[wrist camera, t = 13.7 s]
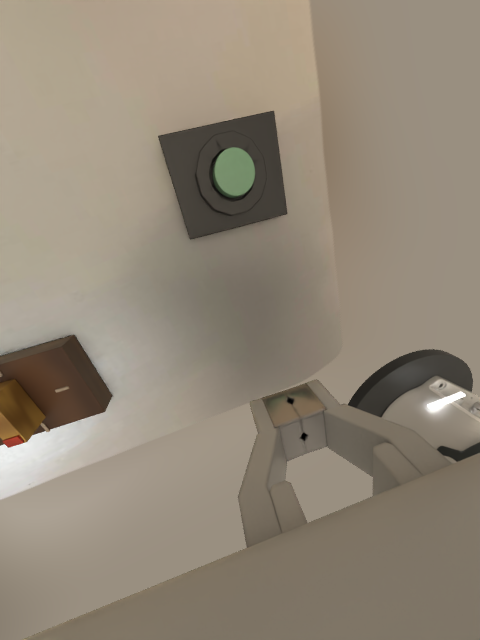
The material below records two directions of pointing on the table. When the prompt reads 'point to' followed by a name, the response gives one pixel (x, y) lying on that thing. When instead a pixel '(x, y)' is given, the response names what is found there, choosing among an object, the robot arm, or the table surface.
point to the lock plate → (57, 381)
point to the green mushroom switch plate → (197, 173)
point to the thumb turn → (17, 414)
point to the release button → (233, 172)
